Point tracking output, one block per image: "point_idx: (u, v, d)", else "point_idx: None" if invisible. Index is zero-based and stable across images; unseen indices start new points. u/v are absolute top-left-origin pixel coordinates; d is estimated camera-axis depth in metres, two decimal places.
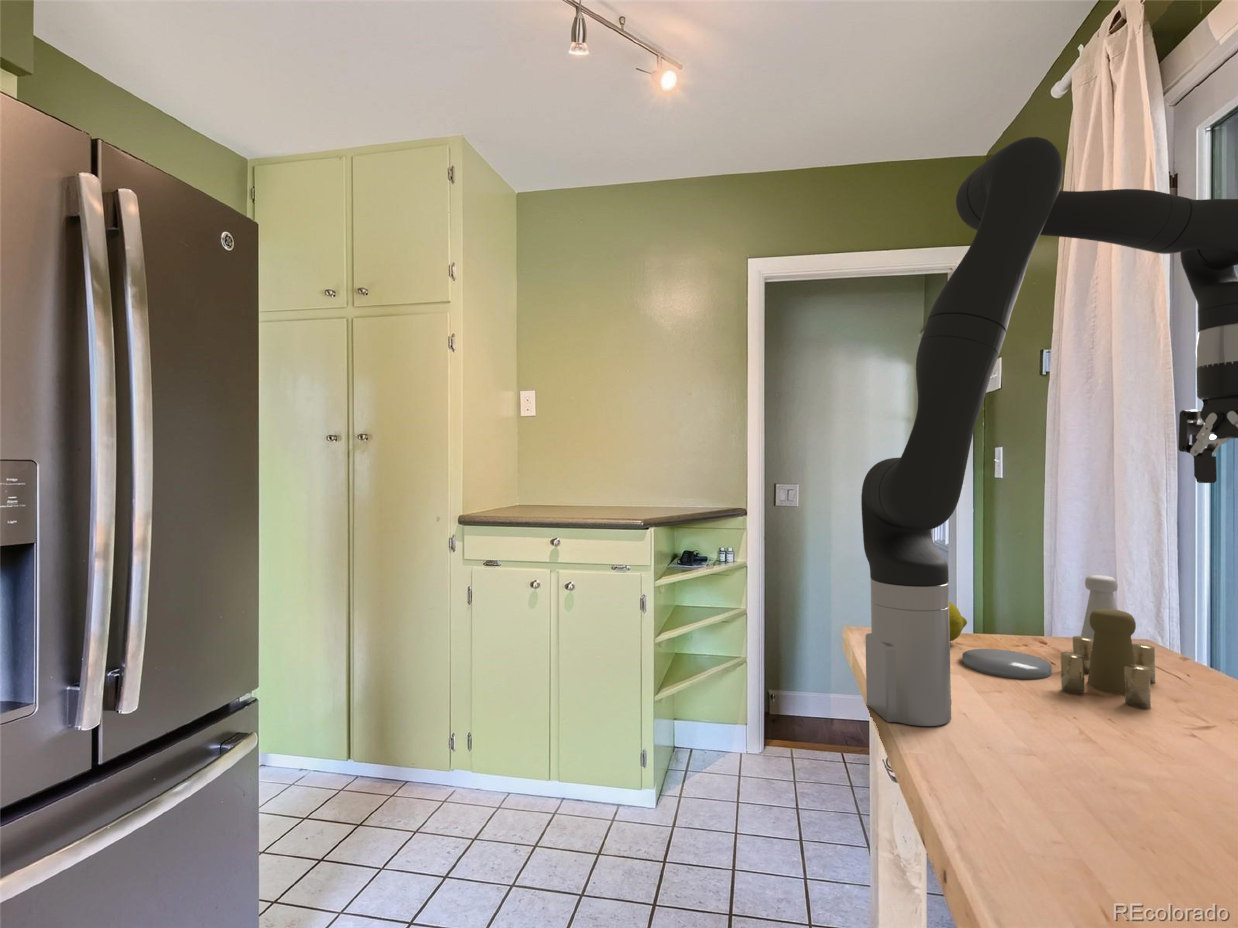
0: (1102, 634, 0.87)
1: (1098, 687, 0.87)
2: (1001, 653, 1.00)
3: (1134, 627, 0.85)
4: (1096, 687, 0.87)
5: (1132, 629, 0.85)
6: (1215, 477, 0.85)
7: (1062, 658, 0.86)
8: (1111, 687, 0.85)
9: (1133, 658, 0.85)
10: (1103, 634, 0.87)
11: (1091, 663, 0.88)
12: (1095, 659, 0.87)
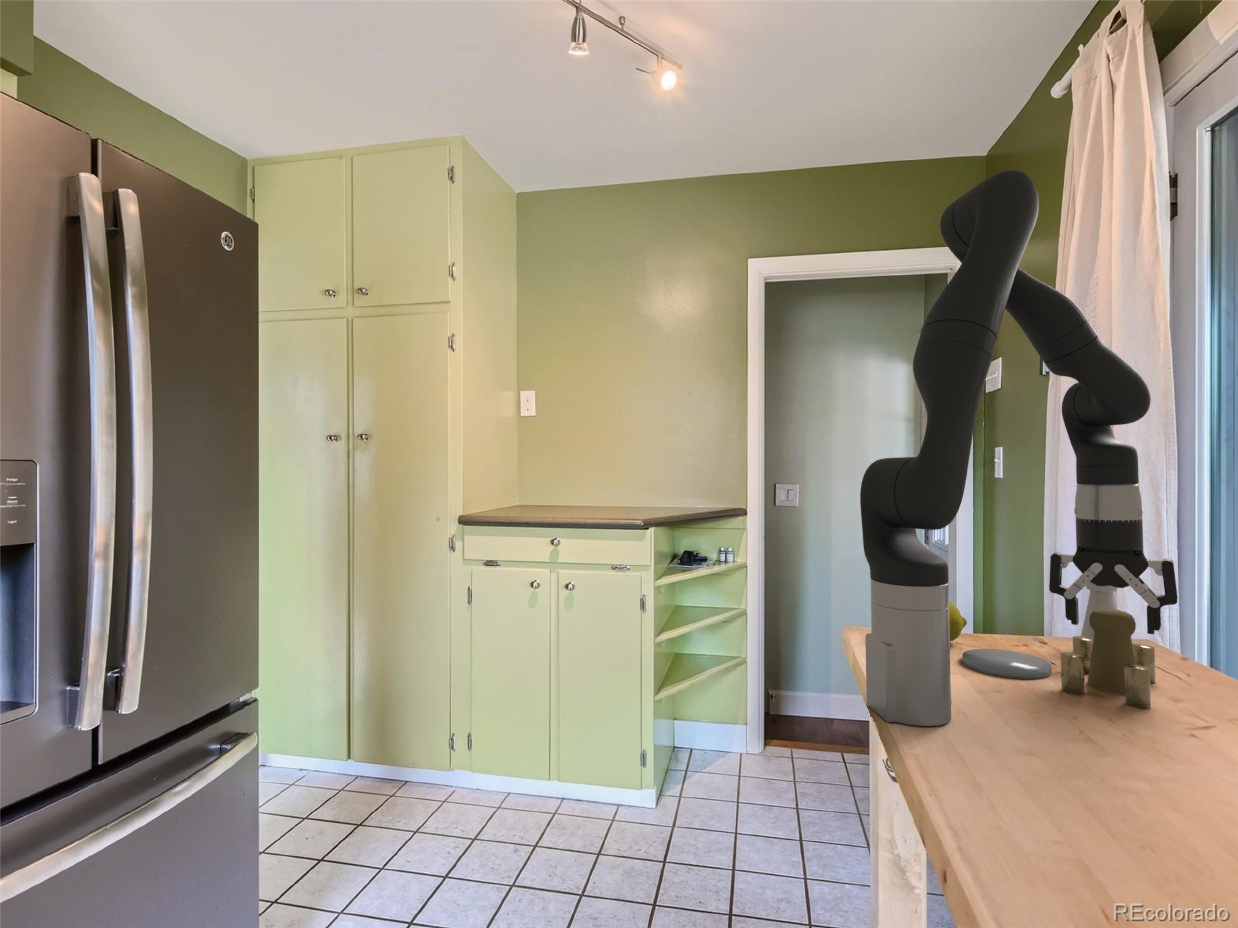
0: (1102, 634, 0.87)
1: (1098, 687, 0.87)
2: (1001, 653, 1.00)
3: (1134, 627, 0.85)
4: (1096, 687, 0.87)
5: (1132, 629, 0.85)
6: (1147, 628, 0.84)
7: (1062, 658, 0.86)
8: (1111, 687, 0.85)
9: (1133, 658, 0.85)
10: (1103, 634, 0.87)
11: (1091, 663, 0.88)
12: (1095, 659, 0.87)
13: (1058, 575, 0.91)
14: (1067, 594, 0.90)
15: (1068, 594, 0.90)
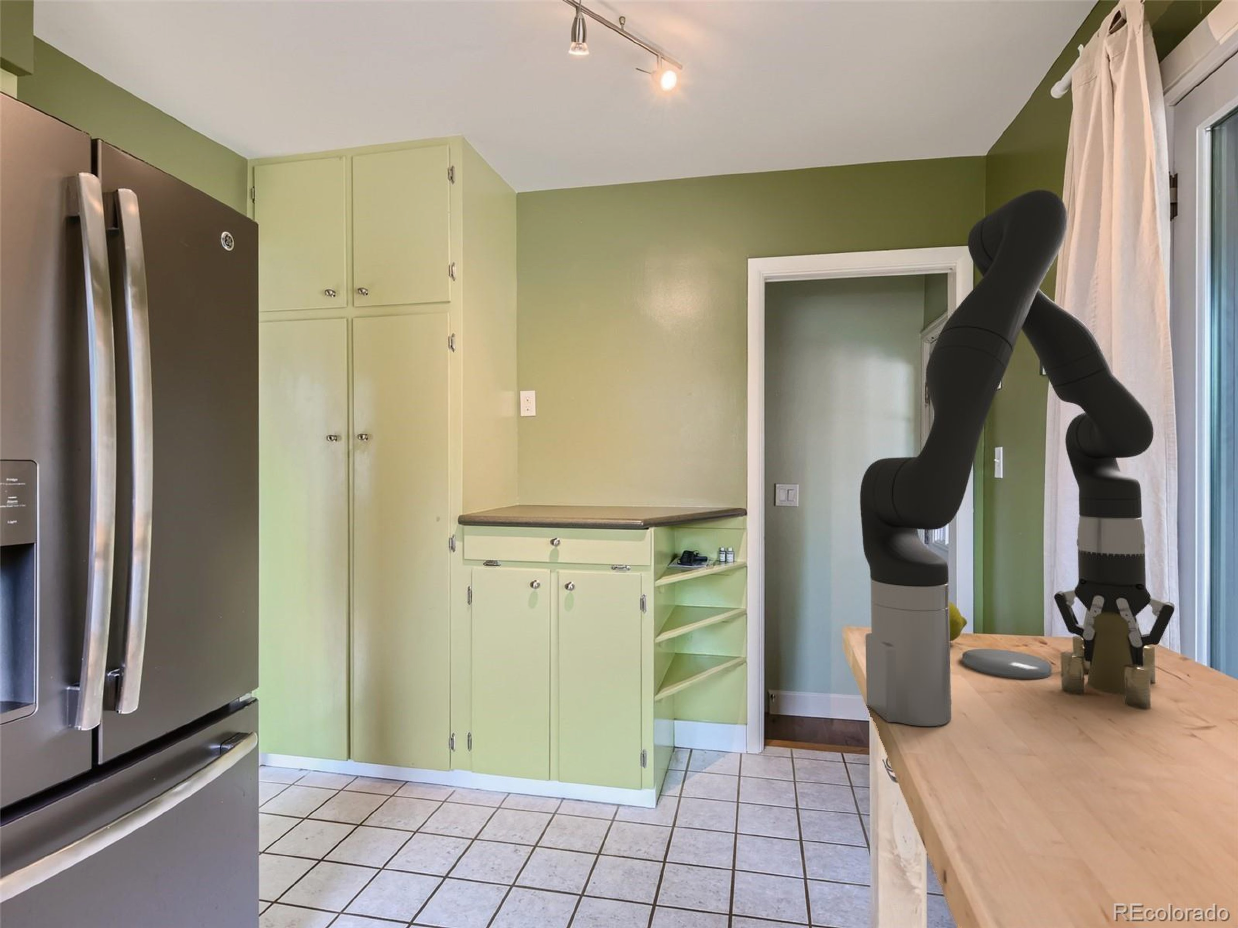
0: (1102, 634, 0.87)
1: (1098, 687, 0.86)
2: (1001, 653, 1.00)
3: None
4: (1096, 687, 0.87)
5: None
6: None
7: (1062, 658, 0.86)
8: (1111, 687, 0.85)
9: None
10: (1103, 634, 0.87)
11: None
12: (1095, 659, 0.87)
13: (1070, 614, 0.90)
14: (1086, 635, 0.88)
15: (1087, 635, 0.88)
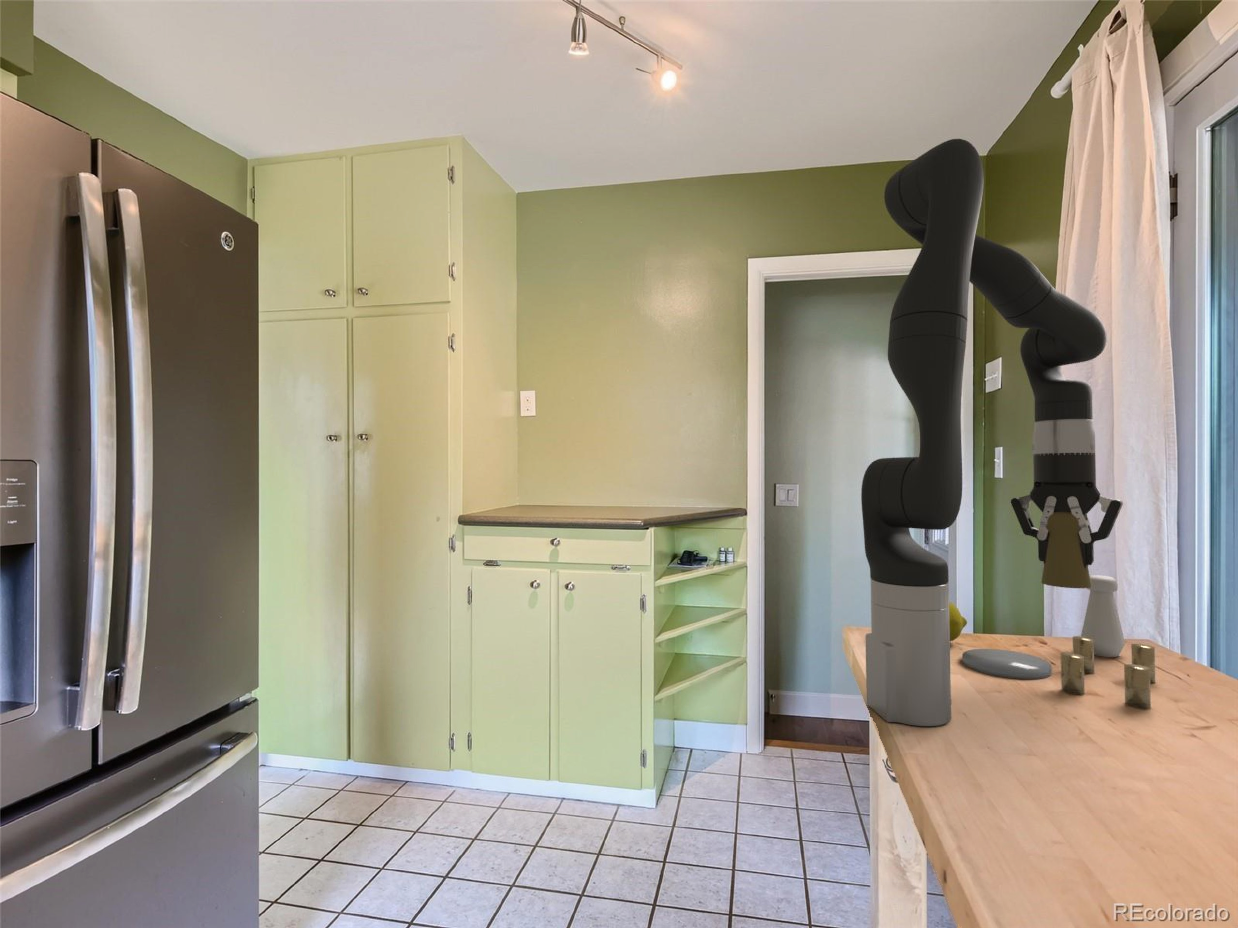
0: (1054, 532, 0.91)
1: (1050, 583, 0.90)
2: (1001, 653, 1.00)
3: None
4: (1048, 583, 0.90)
5: None
6: None
7: (1062, 658, 0.86)
8: (1062, 582, 0.89)
9: None
10: (1056, 532, 0.90)
11: (1045, 562, 0.92)
12: (1048, 557, 0.91)
13: (1025, 517, 0.94)
14: (1040, 535, 0.92)
15: (1040, 535, 0.92)
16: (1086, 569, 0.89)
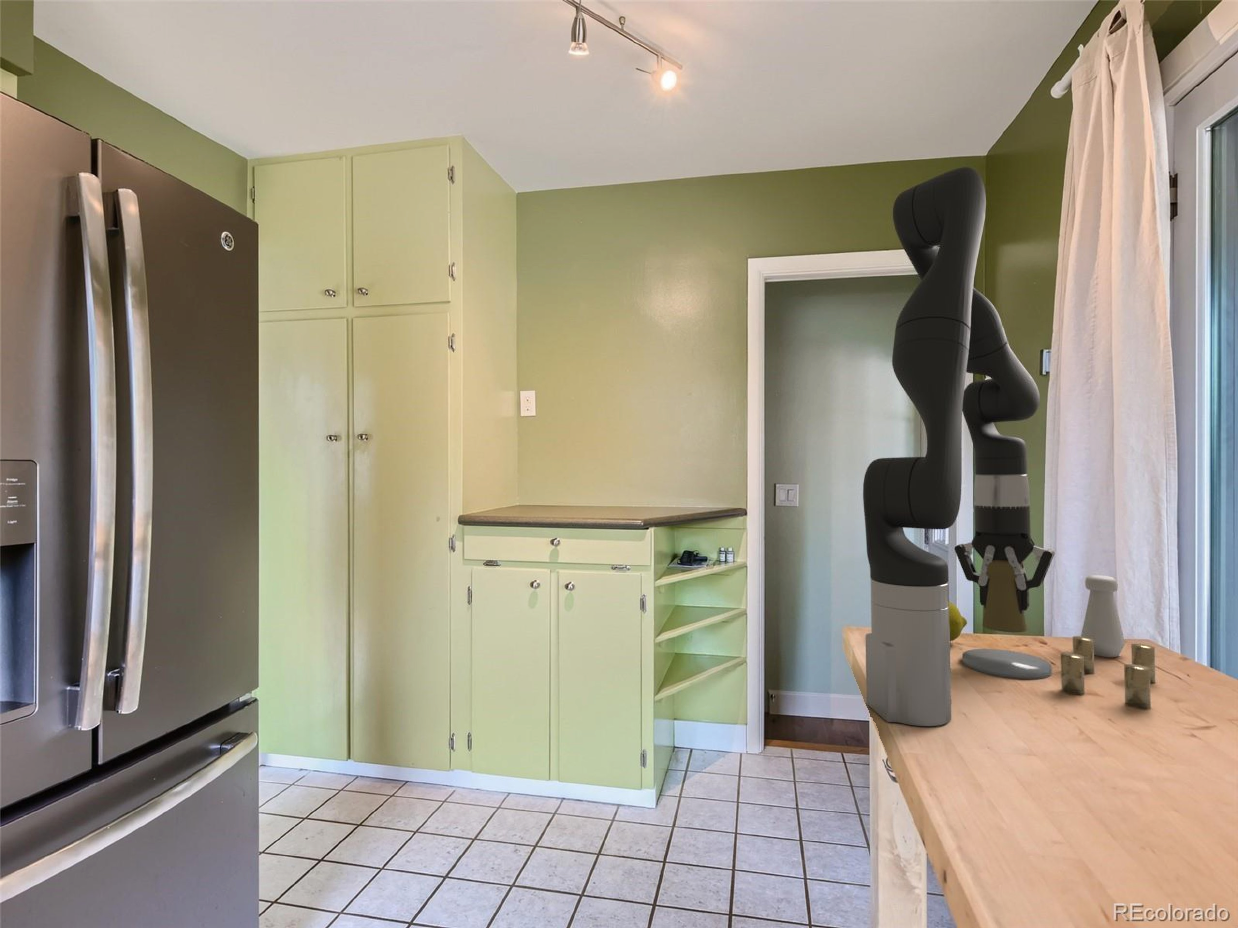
0: (993, 579, 0.97)
1: (990, 627, 0.97)
2: (1001, 653, 1.00)
3: None
4: (988, 627, 0.97)
5: None
6: None
7: (1062, 658, 0.86)
8: (1000, 626, 0.95)
9: None
10: (994, 579, 0.97)
11: None
12: (988, 602, 0.97)
13: (967, 563, 1.00)
14: (981, 581, 0.98)
15: (981, 581, 0.98)
16: (1022, 614, 0.95)
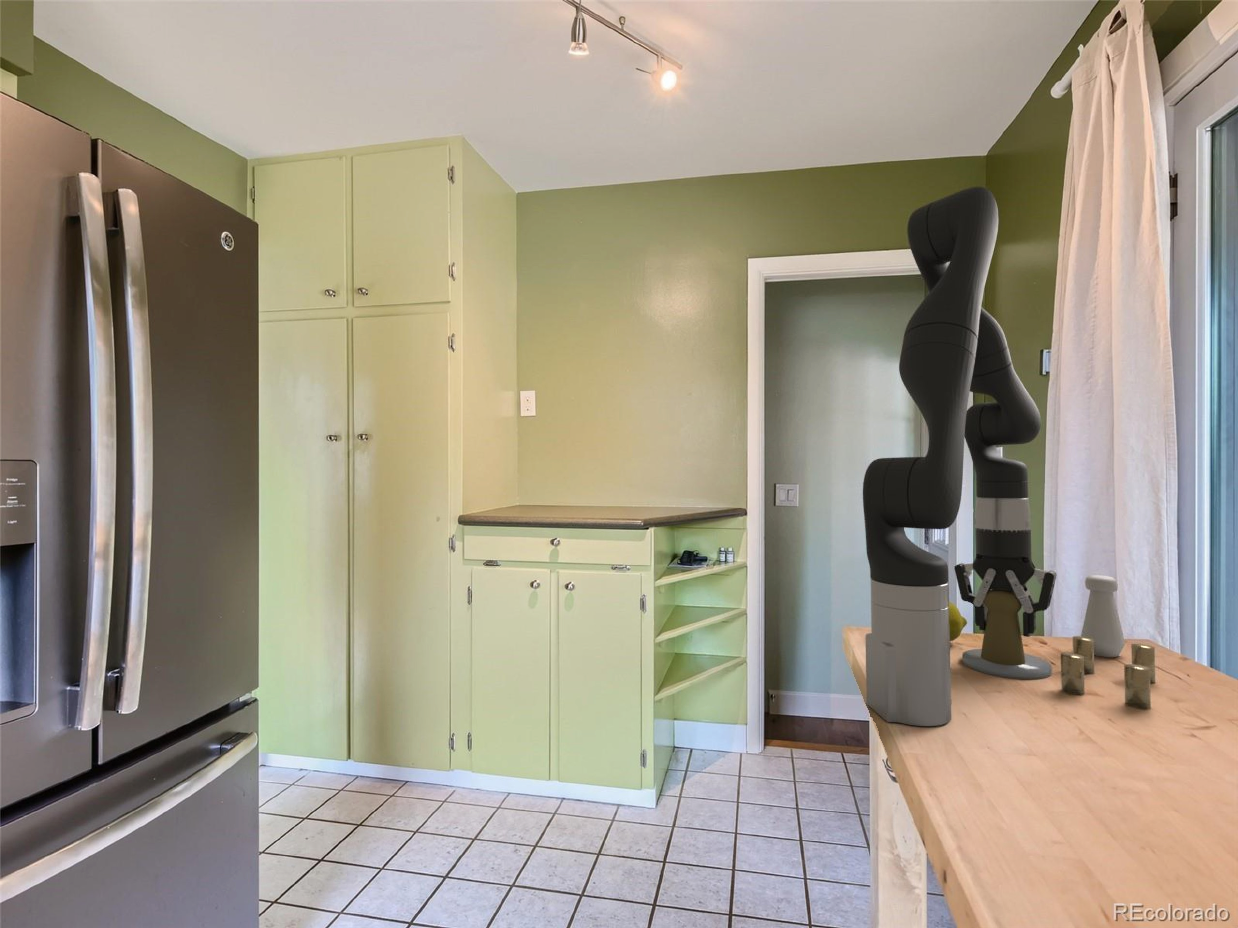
0: (992, 611, 0.97)
1: (987, 658, 0.97)
2: None
3: (1019, 605, 0.95)
4: (986, 658, 0.97)
5: (1017, 607, 0.95)
6: (1023, 632, 0.95)
7: (1062, 658, 0.86)
8: (997, 658, 0.95)
9: (1018, 633, 0.95)
10: (993, 611, 0.97)
11: (984, 637, 0.98)
12: (986, 633, 0.97)
13: (965, 584, 1.00)
14: (976, 602, 0.99)
15: (976, 602, 0.99)
16: (1020, 647, 0.95)
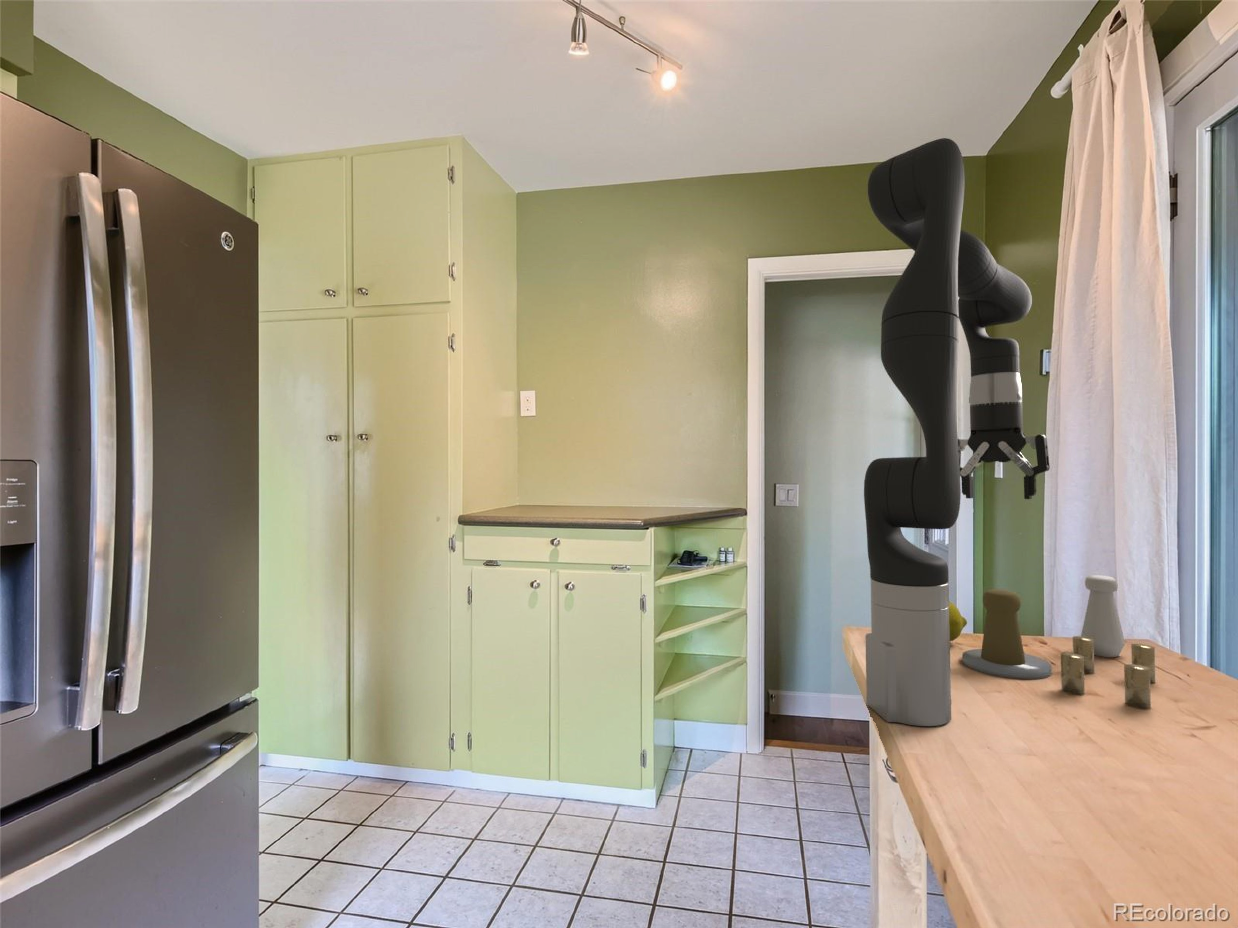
0: (991, 611, 0.97)
1: (987, 659, 0.97)
2: None
3: (1018, 605, 0.95)
4: (986, 659, 0.97)
5: (1016, 607, 0.95)
6: (1024, 495, 0.99)
7: (1062, 658, 0.86)
8: (997, 658, 0.95)
9: (1018, 633, 0.95)
10: (992, 611, 0.97)
11: (983, 638, 0.98)
12: (986, 634, 0.98)
13: None
14: (962, 472, 1.05)
15: (963, 472, 1.05)
16: (1020, 646, 0.95)
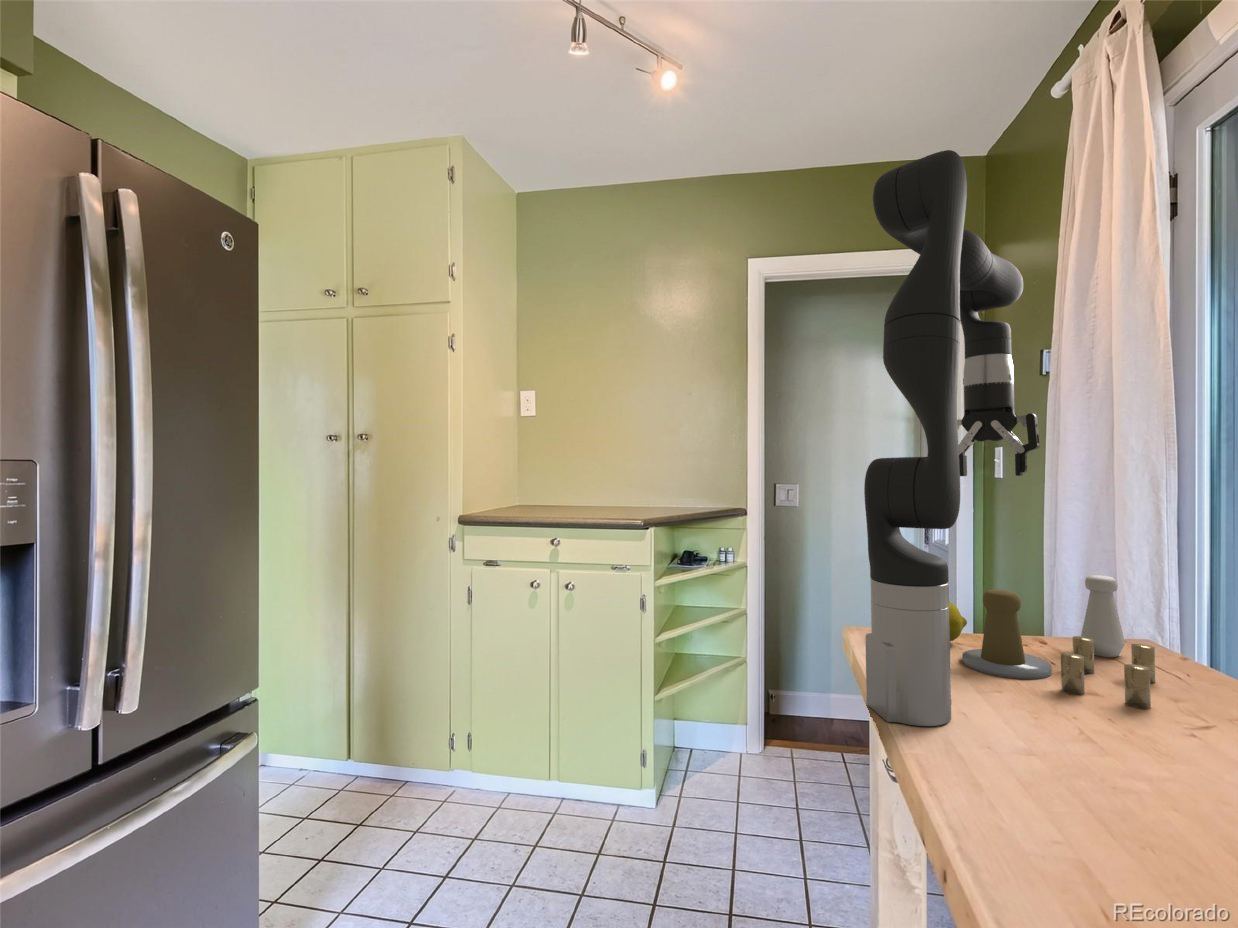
0: (991, 611, 0.97)
1: (987, 659, 0.97)
2: None
3: (1018, 605, 0.95)
4: (986, 659, 0.97)
5: (1016, 607, 0.95)
6: (1015, 471, 1.03)
7: (1062, 658, 0.86)
8: (997, 658, 0.95)
9: (1018, 633, 0.95)
10: (992, 611, 0.97)
11: (983, 638, 0.98)
12: (986, 634, 0.98)
13: None
14: None
15: None
16: (1020, 647, 0.95)
